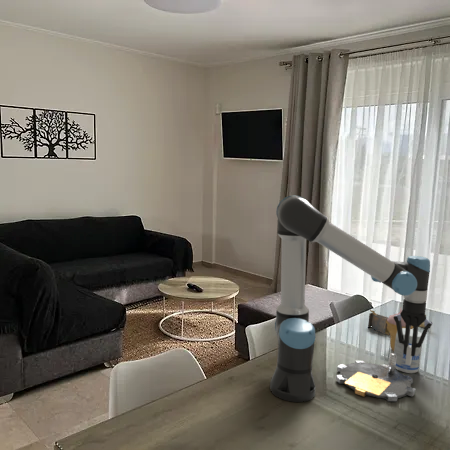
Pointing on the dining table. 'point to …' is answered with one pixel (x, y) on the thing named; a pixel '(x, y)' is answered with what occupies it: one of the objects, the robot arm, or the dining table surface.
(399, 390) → the sprocket
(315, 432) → the dining table surface
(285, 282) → the robot arm
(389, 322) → the ice cream cone
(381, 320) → the ruin model on sheet
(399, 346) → the supplement tub
